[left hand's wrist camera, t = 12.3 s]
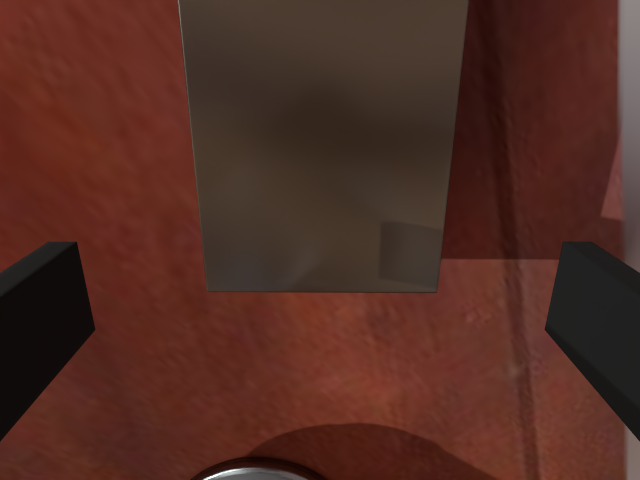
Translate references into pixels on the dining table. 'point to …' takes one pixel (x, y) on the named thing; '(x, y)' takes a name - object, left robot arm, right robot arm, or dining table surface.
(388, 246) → the cabinet
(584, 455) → the dining table surface
